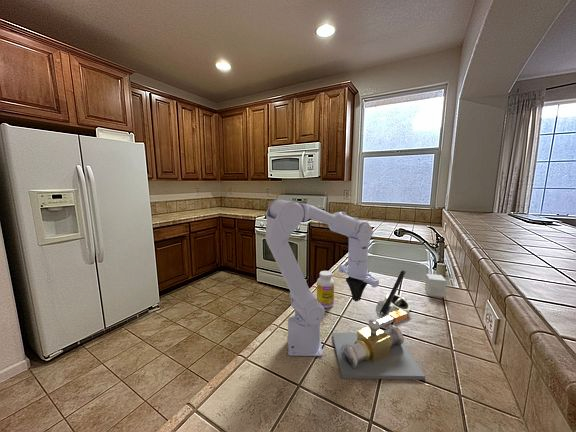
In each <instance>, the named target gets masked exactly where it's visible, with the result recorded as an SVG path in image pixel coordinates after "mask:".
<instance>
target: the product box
mask: <svg viewBox="0 0 576 432" xmlns="http://www.w3.org/2000/svg"><path fill="white" fill-rule="evenodd" d="M424 285H425V287H424V290H425V292H426V294H427V295H428V296H429V297H430V296H431V297H438V298H446V288H447V287H446V286H447V280H446V278H444V276H443V275H441V274H431V273H426V274H425V284H424Z"/></svg>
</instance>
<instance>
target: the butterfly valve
mask: <svg viewBox="0 0 576 432" xmlns="http://www.w3.org/2000/svg"><path fill="white" fill-rule="evenodd" d="M406 273H407V271H405V270H403V269H402V270H401V271H400V273H399V274H398V276H397V279H396V280H395V283H394V285H393V287H392V289H391V291H390V293H387V294H386V295H385V298H384V300H379V301H377V304H376V307H375V313H376V315H377V317H378V318H379V319H381V318H384V317H386V316H388V314H389V313H391V312H394V311H397V310H399V309H401V310H403V311H404V312H406V313H407V315H408V314H409V312H410V310H411V309H412V303H410V302H408V301H407V299H406V298H405V297H401V296H400V294H396V293H397V292H398V290H399V289H398V288H399V287H400V285H401V283H402V282H403V279H404V277H405V275H406ZM392 323H393V322H391V323H390V324H392Z"/></svg>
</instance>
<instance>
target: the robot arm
mask: <svg viewBox="0 0 576 432" xmlns="http://www.w3.org/2000/svg"><path fill="white" fill-rule="evenodd" d="M265 219H266V222H265V223H266V225H265V226H266V227H265V237H264V238H265V243H266V244H267V246H268V248H269V250H270V252H271V254H272V257H273V258H274V260H275V263H276V265H277V266H278V269H279V272H280V273H281V275H282V277H283V279H284V281H285V284H286V286H287V287H288V289H289V291H290V292H289V296H290V304H291V308H292V309H294V315H293V316H289V317H288V318H287V319H288V320H287V338H286V339H287V344H288V345H287V347H288V349H287V350H288V353H287V355H288V356H291V357H293V356H295V357H301V356H302V357H323V350H322V347H323V346H322V342H321V341H322V340H321V331H320V330H321V322H322V321H323V319H324V318H325V315H326V314H325V313H326V309H325V308H324V307H323V306H322V305H321V304H320V303H318V301H317V296H315V295H314V293H313V291H311V290H310V287H309V286H308V283H307V281H306V279H305V277H304V275H303V272H302V269H301V267H300V265H299V263H298V261H297V259H296V257H295V254H294V252H293V249H292V248H291V246H290V243H289V239H290V237H291V235H292V234H293V233H294V232H295V231H296V229H297V228H298V227H299V226H300V224H301V223H302V222H304V223H305V222H307V221H308V220H313V221H316V222H319V223H322V224H325V225H327V226H328V228H329V230H330V231H331V232H334V233H336V234H340V235H343V236H346V237H347V238H348V255H347V257H348V259H347V260H348V261H347V265H344V264H342V265H339V266H338V272H339V273H344V274H346V275H347V276H348V277H347V278H345V282H346V283H347V285H348V287H349V289H350V293H351V297H352V300H353V301H354V302H360V301H361V299H362V295H363V292H364V290H365V288H366V287H367V285H368V284H369V285H370V286H371V287H372V288H374V289H375V288H378V287H379V286H380V285H379V283H380V279H377V278H376V277H374V276H373V275H372V274H371V273H369V270H368V261H369V259H368V256H369V255H368V253H369V245H371V244H370V243H371V242H370V241H371V238H372V237H373V234H374V230H373V228H372V226H371V224H370V223H369V222H366V221H363V220H359V218H358V217H356V216H353V217H352V216H350V215H348V214H347V212H345V211H339V212H338V211H337V212H334V213H330V212H328V211H325V210H322V209H321V208H318V207H316V206H314V205H311V204H307V203H303V202H298V201H293V200H285V199H282V198H277V199H273V201H271V202H270V204H269V205H268V208H267V210H266V212H265Z"/></svg>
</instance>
